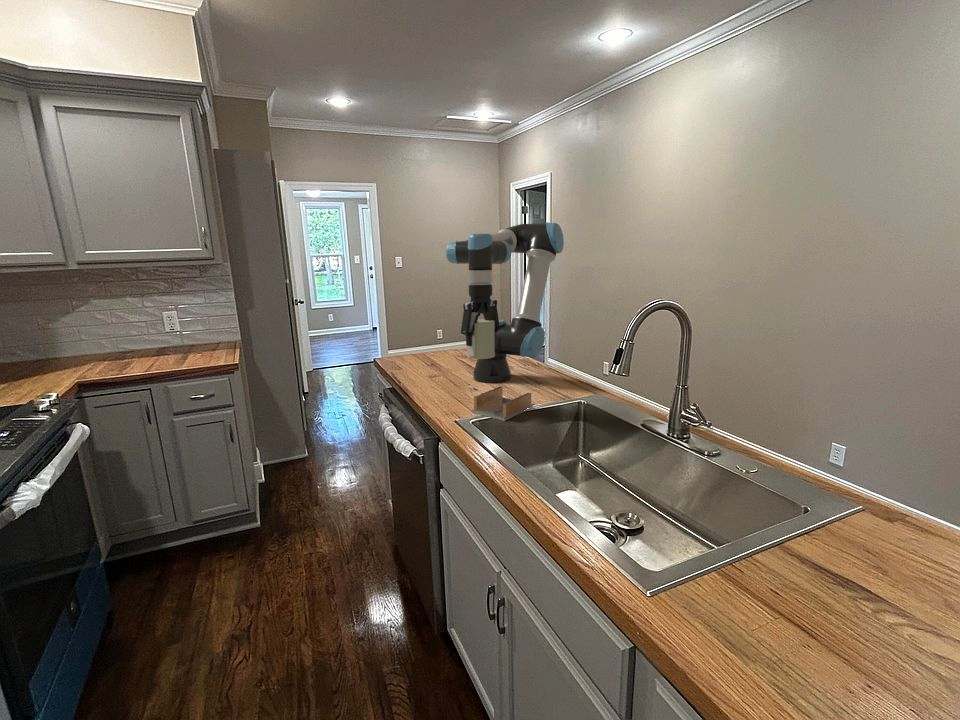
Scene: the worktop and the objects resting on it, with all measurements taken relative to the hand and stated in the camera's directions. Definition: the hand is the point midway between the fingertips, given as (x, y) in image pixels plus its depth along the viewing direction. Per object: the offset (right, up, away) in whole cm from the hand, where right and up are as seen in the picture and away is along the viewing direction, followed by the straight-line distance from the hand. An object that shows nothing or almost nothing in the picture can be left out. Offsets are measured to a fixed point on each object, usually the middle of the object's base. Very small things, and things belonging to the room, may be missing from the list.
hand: (481, 353), depth 157 cm
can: (0, -1, 0) cm, 1 cm away
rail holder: (+7, -19, -1) cm, 20 cm away
